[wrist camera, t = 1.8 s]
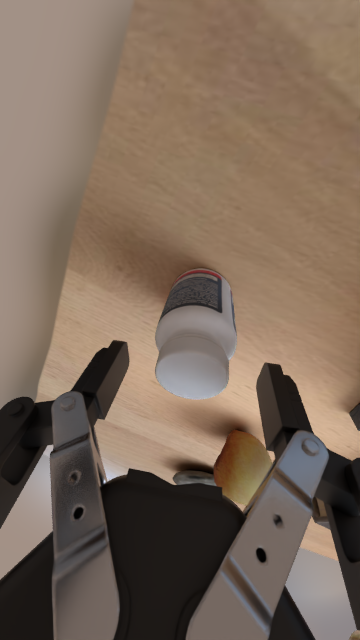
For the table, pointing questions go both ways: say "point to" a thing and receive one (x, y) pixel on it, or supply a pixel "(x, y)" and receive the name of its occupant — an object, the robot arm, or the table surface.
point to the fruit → (241, 466)
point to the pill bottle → (196, 335)
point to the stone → (193, 477)
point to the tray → (356, 416)
